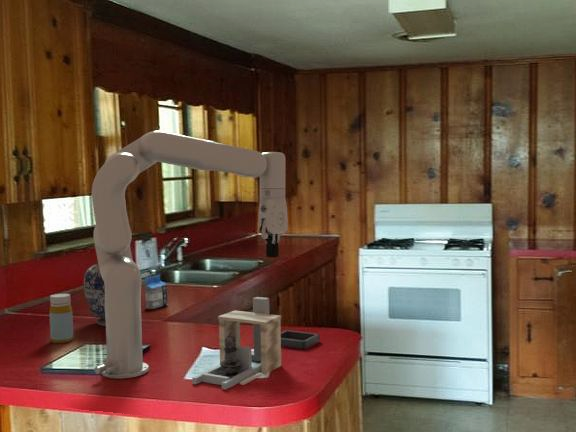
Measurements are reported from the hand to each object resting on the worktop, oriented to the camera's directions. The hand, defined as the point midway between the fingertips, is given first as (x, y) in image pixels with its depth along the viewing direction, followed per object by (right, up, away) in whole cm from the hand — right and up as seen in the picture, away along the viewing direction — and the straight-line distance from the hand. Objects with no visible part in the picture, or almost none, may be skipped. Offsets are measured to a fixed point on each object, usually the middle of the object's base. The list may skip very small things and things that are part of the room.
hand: (272, 256), depth 201 cm
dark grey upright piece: (-11, -31, -18) cm, 37 cm away
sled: (-9, -30, -15) cm, 35 cm away
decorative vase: (-59, -27, +45) cm, 79 cm away
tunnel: (-6, -30, -10) cm, 32 cm away
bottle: (-69, -29, +21) cm, 78 cm away
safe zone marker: (-11, -31, -18) cm, 37 cm away
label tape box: (-48, -24, +71) cm, 89 cm away
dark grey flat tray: (+7, -28, +13) cm, 32 cm away
